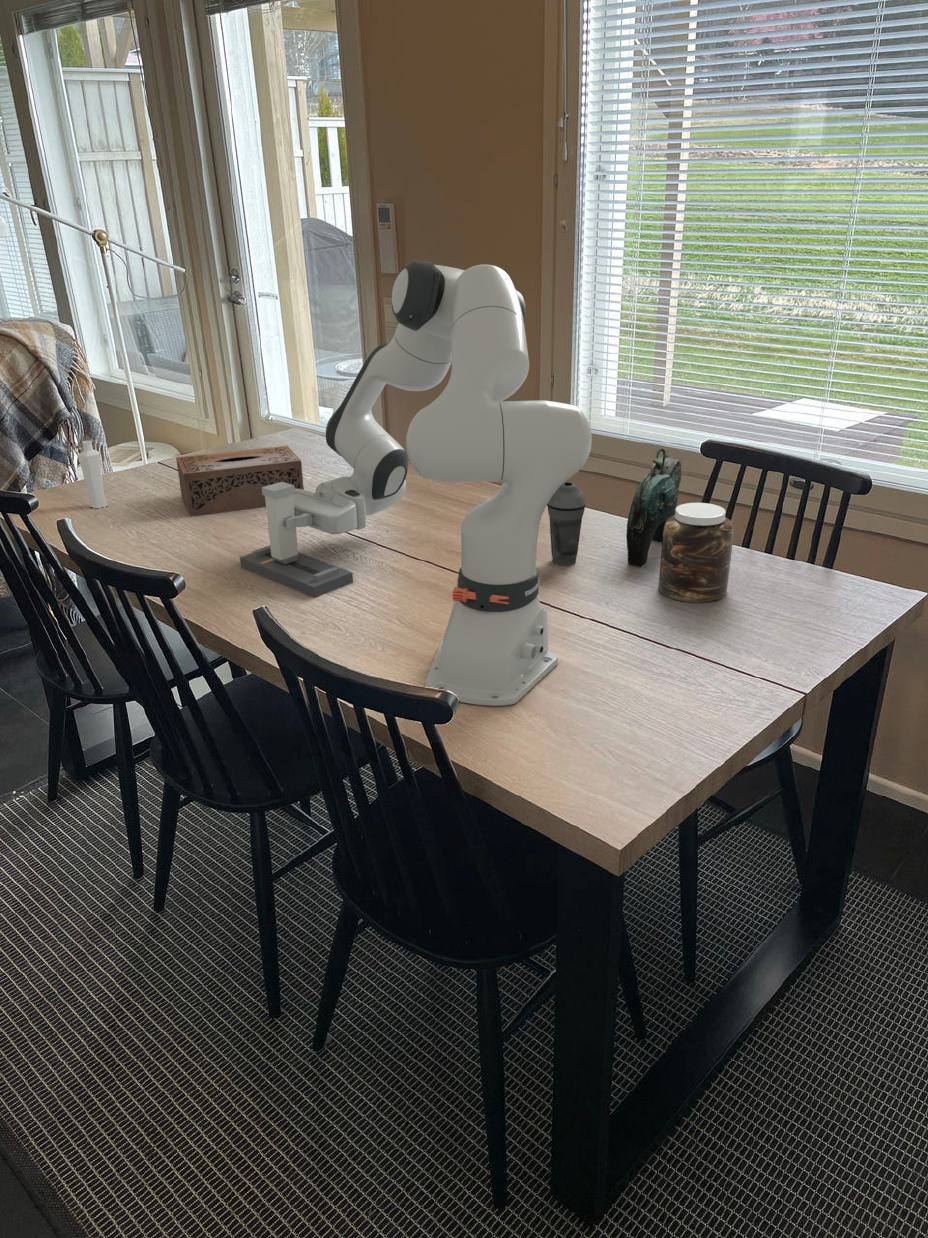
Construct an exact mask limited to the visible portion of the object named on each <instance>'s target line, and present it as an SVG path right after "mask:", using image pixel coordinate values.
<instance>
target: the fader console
mask: <svg viewBox="0 0 928 1238" xmlns="http://www.w3.org/2000/svg"><path fill="white" fill-rule="evenodd" d="M239 561H240V568H243V569H245V570H248V571H250V572H252V573H255V574H256V575H259V576H262V577H264V578H267V579H268V580H271V581H274V582H276V583H279V584H281V585H284V586H285V587H288V588H290V589H293V590H295V591H298V592H300V593H303V594H305V595H308V596H309V597H312V598H317V597H320V596H322V595H325V594H327V593H330V592H333V591H335V590H338V589H341V588H342V587H345V586H348V585H350V584H353V583H354V580H353V579H354V577H353V575H354V574H353V572H352V571H350V570H347V569H344V568H342V567H338V566H337V565H334V564H331V563H329V562H326V561H323V560H320V559H317V558H315V557H312V556H309V555H308V554H304V553H302V552H299V551H298V560H296V561H293V562H290V563H287V564H284V563H281V562H279V561H276V560H274V559H272V556H271V548H270V544H269V545H267V546H264V547H261V548H258V549H255V550H253V551H252V552H251V553H249V554H246V555H242V556H240V557H239Z"/></svg>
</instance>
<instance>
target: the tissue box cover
mask: <svg viewBox="0 0 928 1238" xmlns="http://www.w3.org/2000/svg"><path fill="white" fill-rule="evenodd" d="M175 459H176V467H177V474H178V480H179V488H180V494H181V500H182V501H183V505H184V506H186V507H185V509H186V511H187V513H188V516H189V518H192V517H199V516H206V515H216V514H223V513H230V512H237V511H244V510H245V511H246V510H254V509H260V508H266V501H265V496H264V495H262V487H265V486H269V485H272V484H276V483H279V482H285V483H288V484H291V485H294V488H295V489H303V490H305V488H304V479H303V478H304V476H303V466H302V459H300V458H299V456H297V454H296V453H295V452H294V451H293V450H292V448H291V447H289V446H288V445H281V446H270V447H262V448H261V447H260V448H252V449H242V450H241V449H240V450H232V451H224V452H215V453H213V452H212V453H207V454H206V453H205V454H195V455H187V456H185V455H184V456H178V457H177V456H176V457H175Z"/></svg>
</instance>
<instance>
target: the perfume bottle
mask: <svg viewBox="0 0 928 1238" xmlns="http://www.w3.org/2000/svg"><path fill="white" fill-rule="evenodd" d="M92 442H93V441H92V440H84V441H81V443H82V448H83V451H81V452H80V453H79V454H77V457H78V460H79V464H80V468H81V471H82V475H83V478H84V482H85V487H86V489H87V493H88V496H89V500H90V501H89V508H90V507H93V508H92V509H94V508H100V509H102V508H101V507H104V508H107V507H108V504H107V501H106V498H105V493H104V483H103V476H102V468H101V460H100V452H99V451H98V450H96V449H93V444H92ZM106 506H107V507H106Z"/></svg>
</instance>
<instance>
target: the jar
mask: <svg viewBox="0 0 928 1238" xmlns="http://www.w3.org/2000/svg"><path fill="white" fill-rule="evenodd" d="M726 513H727V512H726V509H725V508H724V507H722V506H720V505H717V504H712V503H708V502H707V503H706V502H687V503H682V504H679V505H677V507H676V509H675V515H672V516H670V517H669V518H667V520H666V521H665V525H664V532H663V541H662V543H661V552H660V553H661V555H660V562H659V563H660V564H659V578H658V591H659V592H660V593H661V594H662V595H663V596H665V597H667V598H669V599H672V600H675V601H679V602H685V603H691V604H692V603H694V604H695V603H696V604H697V603H698V604H699V603H701V604H702V603H703V604H704V603H710V602H714V601H715V602H716V601H719V600H722V598H724V597H725V596H726V595H727V592H728V585H729V577H730V576H729V575H730V569H731V560H732V553H733V552H732V551H733V544H734V543H733V541H734V530H735V529H734V524H733V522H732V521H731V519H728V517H726Z"/></svg>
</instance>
